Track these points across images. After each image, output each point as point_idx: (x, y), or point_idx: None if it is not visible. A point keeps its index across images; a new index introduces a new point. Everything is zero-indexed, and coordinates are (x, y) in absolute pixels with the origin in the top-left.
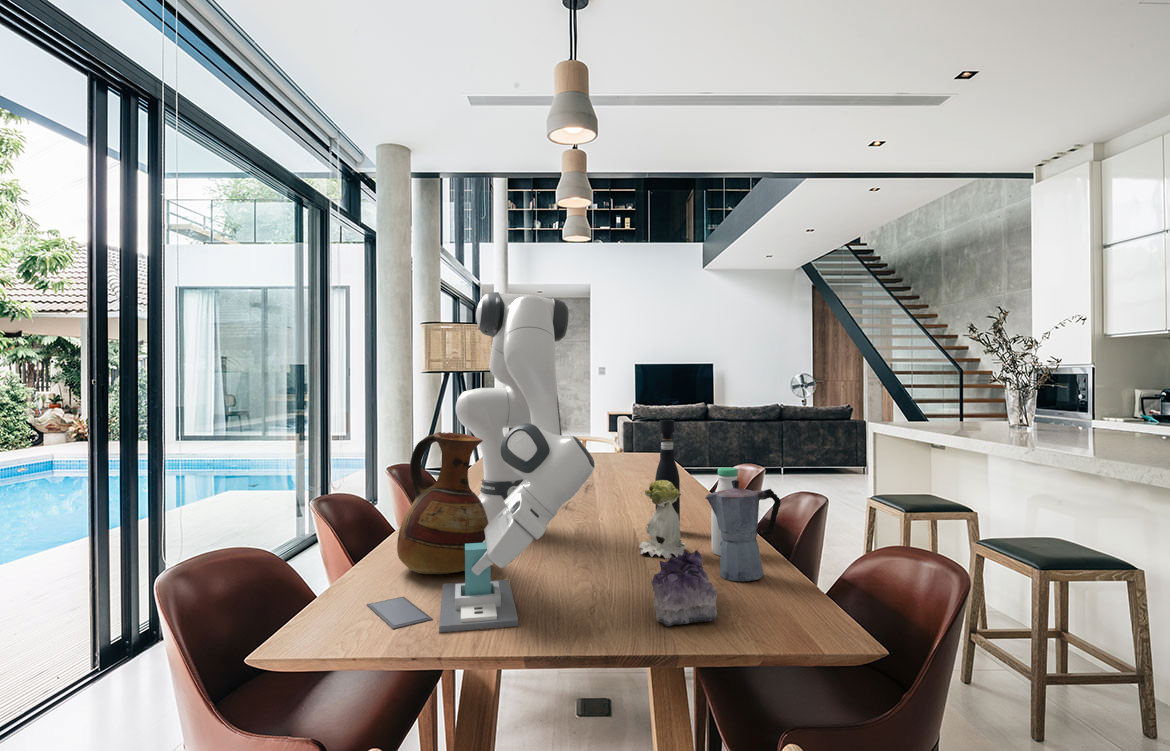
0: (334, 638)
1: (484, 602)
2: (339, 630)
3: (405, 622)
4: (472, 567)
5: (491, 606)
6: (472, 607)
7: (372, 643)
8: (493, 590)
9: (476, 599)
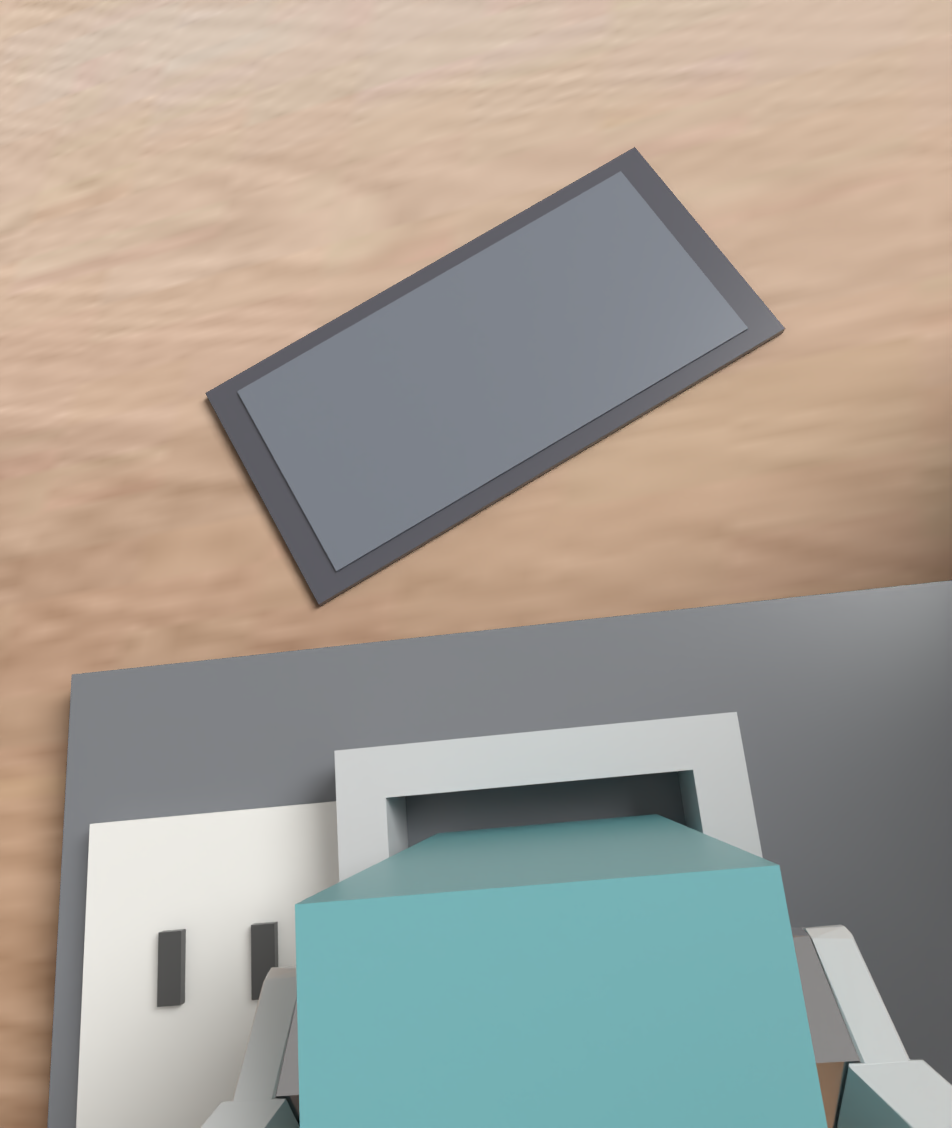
0: (155, 148)
1: None
2: (257, 137)
3: (276, 444)
4: (273, 984)
5: None
6: None
7: (42, 340)
8: None
9: None
